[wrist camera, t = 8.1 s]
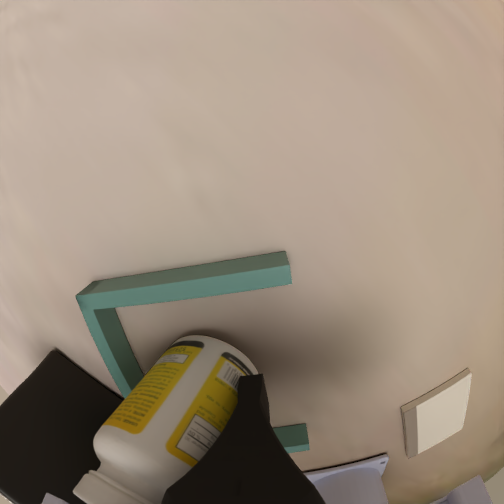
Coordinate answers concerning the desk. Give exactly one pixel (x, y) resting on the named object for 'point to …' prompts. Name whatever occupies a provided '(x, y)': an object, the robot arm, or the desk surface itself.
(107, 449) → the supplement bottle
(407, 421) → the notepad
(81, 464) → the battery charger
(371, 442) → the desk surface
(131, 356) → the bracket
